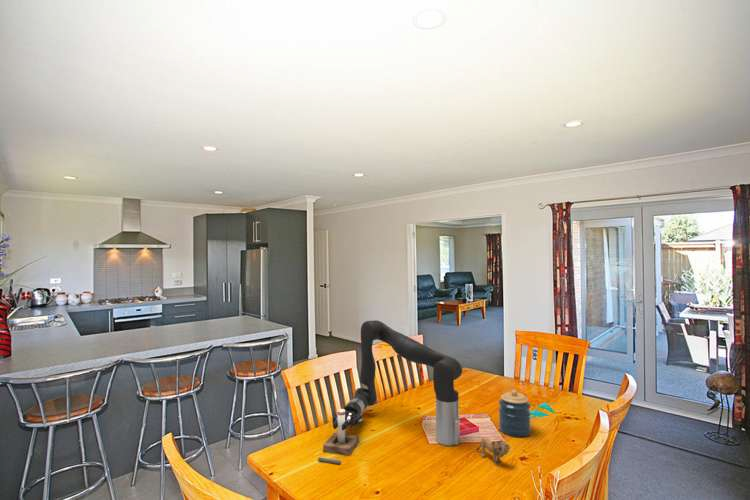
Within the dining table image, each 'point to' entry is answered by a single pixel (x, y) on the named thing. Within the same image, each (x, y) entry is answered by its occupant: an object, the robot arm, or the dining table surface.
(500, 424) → the canister
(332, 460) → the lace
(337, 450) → the brown square frame
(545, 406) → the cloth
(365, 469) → the dining table surface
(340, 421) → the slim white bottle
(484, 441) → the lion figurine
